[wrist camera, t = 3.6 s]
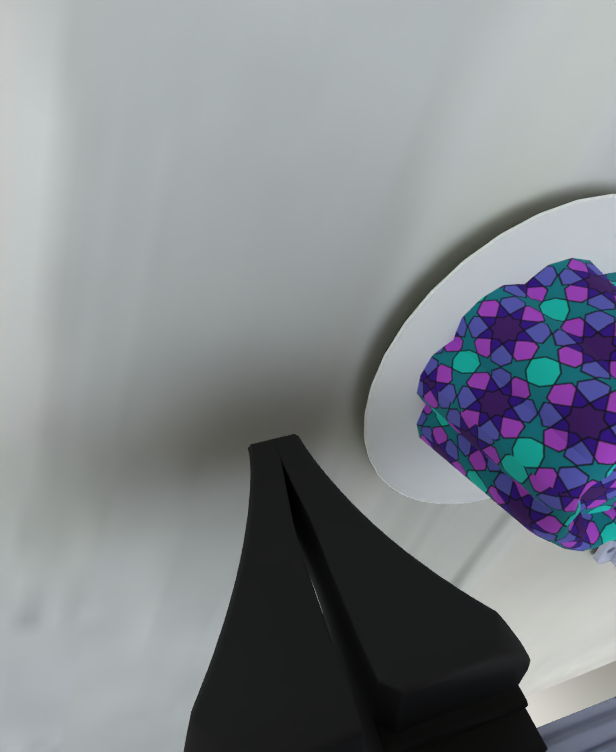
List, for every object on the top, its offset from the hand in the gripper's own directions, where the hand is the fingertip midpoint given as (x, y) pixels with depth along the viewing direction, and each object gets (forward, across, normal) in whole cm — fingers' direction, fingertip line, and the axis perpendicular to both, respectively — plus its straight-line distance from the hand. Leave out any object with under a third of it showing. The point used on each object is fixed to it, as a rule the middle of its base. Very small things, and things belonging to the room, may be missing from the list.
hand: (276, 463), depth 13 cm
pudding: (+2, -9, 0) cm, 9 cm away
